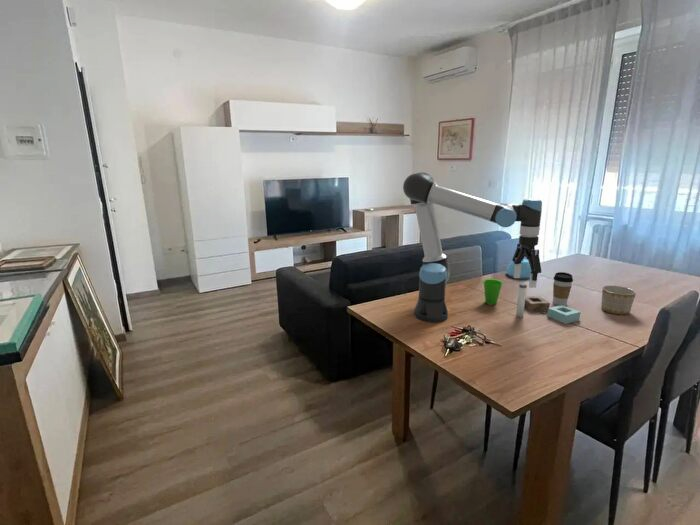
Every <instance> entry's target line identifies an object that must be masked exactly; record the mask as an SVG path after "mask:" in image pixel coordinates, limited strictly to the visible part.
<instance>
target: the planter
mask: <svg viewBox="0 0 700 525" xmlns="http://www.w3.org/2000/svg"><path fill="white" fill-rule="evenodd" d="M601 292H602V294H601V303H600V304H601V309H602V310H603V311H604V312H606V313H608V312H609V313H608V314H612V313H613V315H617V314H620V315H619V316H624V314H626V315H628V314H630V312H631V310H632V306H633V304H634V300H635V298H636V293H637V291H636V290H634V289H632V288H629V287H624V286H621V285H612V284H611V285H603V287H602V291H601Z"/></svg>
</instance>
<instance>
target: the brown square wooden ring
mask: <svg viewBox="0 0 700 525" xmlns="http://www.w3.org/2000/svg"><path fill="white" fill-rule="evenodd" d="M550 304H551V302H549V301H547V300H546V299H544V298H543V297H542V296H540V295H537V296H536V295H535V296H526V297H525V305H524V309H526V310H527V311H529V312H548V308H551V307H550Z"/></svg>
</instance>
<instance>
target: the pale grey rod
mask: <svg viewBox="0 0 700 525" xmlns="http://www.w3.org/2000/svg"><path fill="white" fill-rule="evenodd" d="M527 286H528V285H527V284H525V283H519V285H518V293H517V303H516V311H515V312H516V313H515V316H516V317H517V318H524V312H525V311H524V310H525V307H524V305H525V297H527Z"/></svg>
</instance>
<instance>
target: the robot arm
mask: <svg viewBox="0 0 700 525" xmlns="http://www.w3.org/2000/svg"><path fill="white" fill-rule="evenodd" d="M402 185H403V186H402V190H403V193H404V195H405V196H406V197H407V198H408V199H409V201H410V205H411V206H412V207H414V209H415V213H416V219H417V225H418V229H419V235H420V239H421V246H422V249H423V254H424V257H423V258H422V266H421V267H420V268H419V274H418V277H419V278H418V282H419V283H418V299H417V302H416V305H415V308H414V310H413V311H414V312H413V315H414V317H415V318H416V319H418V320H420V321H424V322H427V323H428V322H429V323H438V322H439V323H440V322H444V321H446V320H447V319H448V316H449V315H448V314H449V311H448V307H447V305H446V298H445V297H446V287H447V286H446V285H447V283H448V281H449V279H450V277H451V275H452V267H451V265H450V263H449V260H448V256H447V255H446V254H445V253H443V247H442V242H441V237H440V231H439V227H438V226H439V225H438V221H437V215H436V210H435V205H437V206H441V207H444V208H448V209H449V210H453V211H457V212H461V213H463V214H467V215H470V216H472V217H476V218H478V219H482V220H485V221H488V222H492V223H494V224H496V225H498V226H499V227H502V228H509V227H511V226H513V225H514V224H515V222H520V226H519V236H518V237H519V238H518V243H517V246H516V249H515V250H514V254H513V257H512V259H511V261H514V264H515V268H514V277H513V278H514V279H520V273H521V264H520V263H521V261H522V260H523V259H525V258H526V260H528V261H529V264H530V268H531V271H532V272H530V278H529V283H528V284H529V285H528V288H529V289H530V288H532V289H534V288H536V287H537V282H538V275H539V274H541V273H542V264H541V260H540V250H539V249H536V248H535V247H536V246H537V245H538V244H539V240H540V239H539V234H540V229H541V227H540V225H541V220H542V219H541V217H542V210H543V209H542V208H543V201H542V200H541V199H539V198H525V199H523V200H522V202H521V203H502V202H501V203H495V202H493V201H490V200H486V199H483V198H480V197H476V196H473V195H470V194H467V193H464V192H461V191H456V190H454V189H451V188H448V187H447V188H446V187H444V186H441V185H438V184H437V182H436V181H435V180H434V178H433V177H432V176H431V175H430V174H429V173H426V172H415V173H411V174H410V175H408V176H407V177H406V178H405V180H404V181H403V183H402Z"/></svg>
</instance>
